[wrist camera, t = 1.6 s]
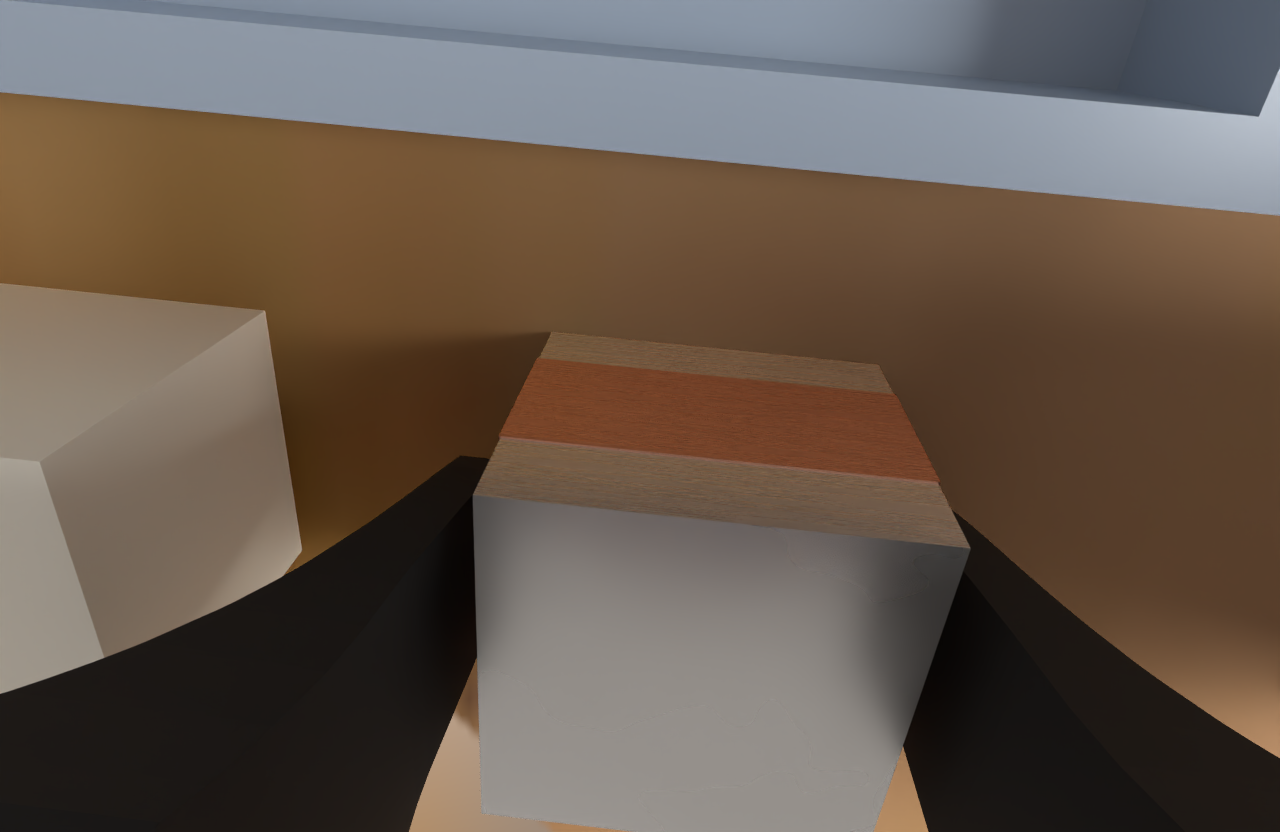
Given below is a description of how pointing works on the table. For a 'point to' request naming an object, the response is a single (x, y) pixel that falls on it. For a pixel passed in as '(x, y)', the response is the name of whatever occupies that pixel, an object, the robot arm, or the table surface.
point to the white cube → (132, 472)
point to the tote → (725, 81)
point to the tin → (704, 590)
